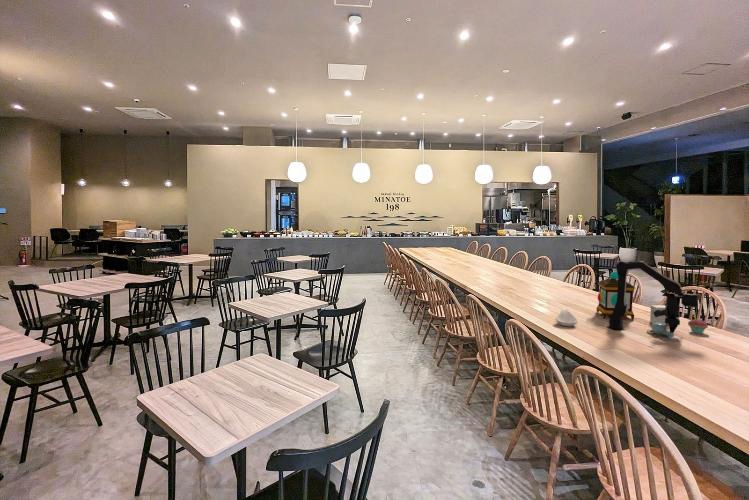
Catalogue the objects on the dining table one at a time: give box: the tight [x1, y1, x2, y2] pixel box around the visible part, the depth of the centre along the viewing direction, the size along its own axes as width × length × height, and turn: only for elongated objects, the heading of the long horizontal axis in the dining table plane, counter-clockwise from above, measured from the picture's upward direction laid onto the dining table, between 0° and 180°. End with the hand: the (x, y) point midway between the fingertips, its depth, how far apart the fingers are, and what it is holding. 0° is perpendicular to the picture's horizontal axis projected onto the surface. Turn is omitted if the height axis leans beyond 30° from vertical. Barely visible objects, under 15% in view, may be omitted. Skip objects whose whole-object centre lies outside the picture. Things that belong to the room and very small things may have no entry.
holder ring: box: [646, 329, 667, 337], centre depth 215 cm, size 10×10×1 cm
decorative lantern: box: [596, 270, 636, 321], centre depth 252 cm, size 20×20×30 cm
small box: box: [649, 304, 668, 325], centre depth 235 cm, size 8×6×10 cm
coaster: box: [658, 336, 680, 343], centre depth 205 cm, size 9×9×1 cm
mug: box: [651, 322, 675, 338], centre depth 212 cm, size 11×7×6 cm, turn 8°
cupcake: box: [687, 311, 709, 334], centre depth 216 cm, size 9×8×12 cm
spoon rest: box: [555, 308, 578, 327], centre depth 239 cm, size 24×12×7 cm, turn 160°
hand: (671, 333), depth 209 cm, fingers closed
